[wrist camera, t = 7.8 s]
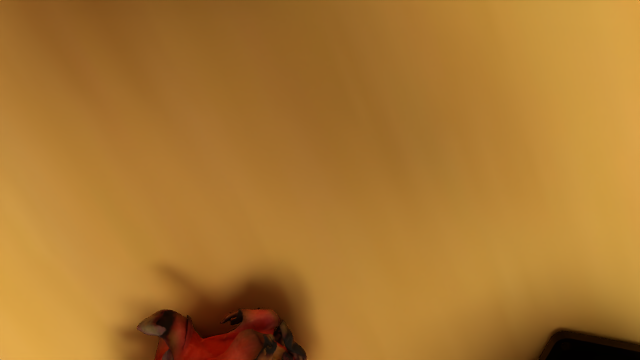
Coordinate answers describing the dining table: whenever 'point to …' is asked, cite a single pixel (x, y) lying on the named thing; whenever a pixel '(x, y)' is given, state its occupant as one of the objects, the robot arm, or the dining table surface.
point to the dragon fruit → (223, 338)
